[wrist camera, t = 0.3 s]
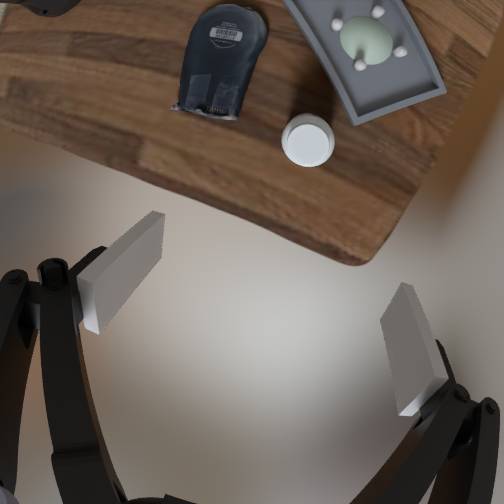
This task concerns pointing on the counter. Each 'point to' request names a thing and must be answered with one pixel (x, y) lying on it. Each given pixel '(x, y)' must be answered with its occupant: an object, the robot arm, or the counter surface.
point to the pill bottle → (308, 140)
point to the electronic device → (220, 61)
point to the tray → (369, 54)
